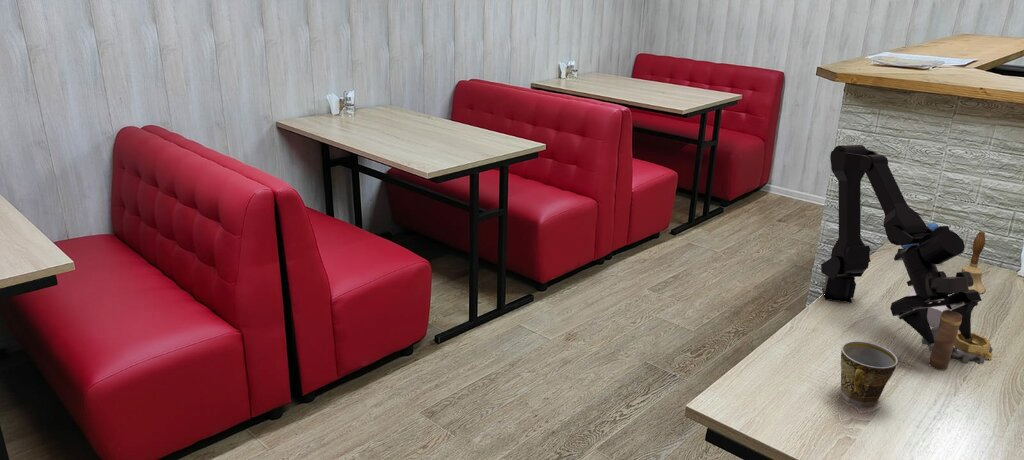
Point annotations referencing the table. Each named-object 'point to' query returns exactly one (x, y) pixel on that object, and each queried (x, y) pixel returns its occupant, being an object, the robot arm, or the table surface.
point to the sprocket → (968, 347)
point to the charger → (932, 312)
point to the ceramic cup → (865, 372)
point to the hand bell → (976, 263)
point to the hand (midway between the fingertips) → (950, 341)
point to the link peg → (945, 339)
